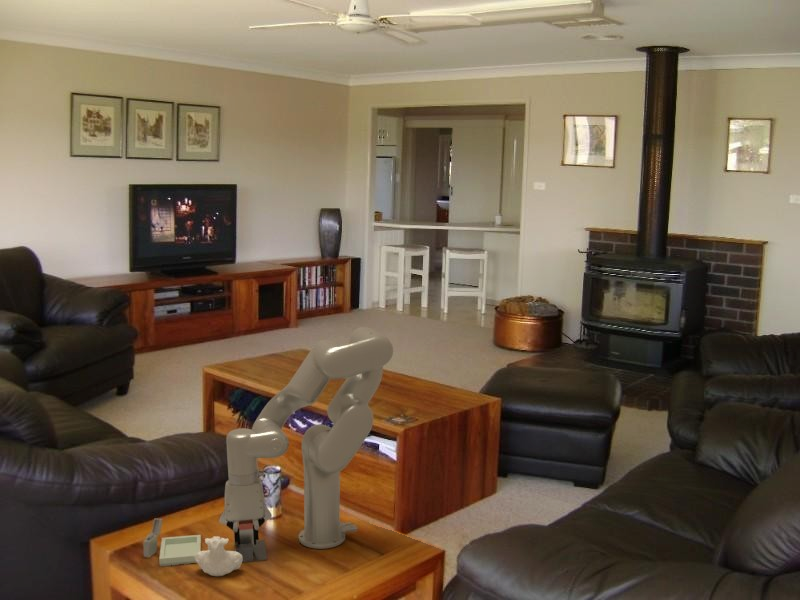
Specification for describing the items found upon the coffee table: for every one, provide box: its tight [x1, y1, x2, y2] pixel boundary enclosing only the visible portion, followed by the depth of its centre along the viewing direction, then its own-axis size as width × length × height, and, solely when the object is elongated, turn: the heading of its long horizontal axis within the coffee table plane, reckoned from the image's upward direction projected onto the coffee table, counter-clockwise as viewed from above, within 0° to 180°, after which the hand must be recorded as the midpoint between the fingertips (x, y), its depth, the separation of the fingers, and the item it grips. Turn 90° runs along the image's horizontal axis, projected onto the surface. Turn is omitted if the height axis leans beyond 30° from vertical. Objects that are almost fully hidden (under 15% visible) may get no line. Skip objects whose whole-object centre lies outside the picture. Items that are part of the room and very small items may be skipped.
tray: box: [158, 534, 202, 567], centre depth 223 cm, size 10×12×2 cm
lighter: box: [142, 517, 163, 558], centre depth 224 cm, size 7×2×8 cm, turn 166°
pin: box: [238, 520, 254, 553], centre depth 224 cm, size 4×4×8 cm
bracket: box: [234, 539, 268, 563], centre depth 225 cm, size 8×11×4 cm
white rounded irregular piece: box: [194, 535, 243, 577], centre depth 212 cm, size 12×8×11 cm
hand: (246, 542), depth 225 cm, fingers closed on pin, 3 cm apart
